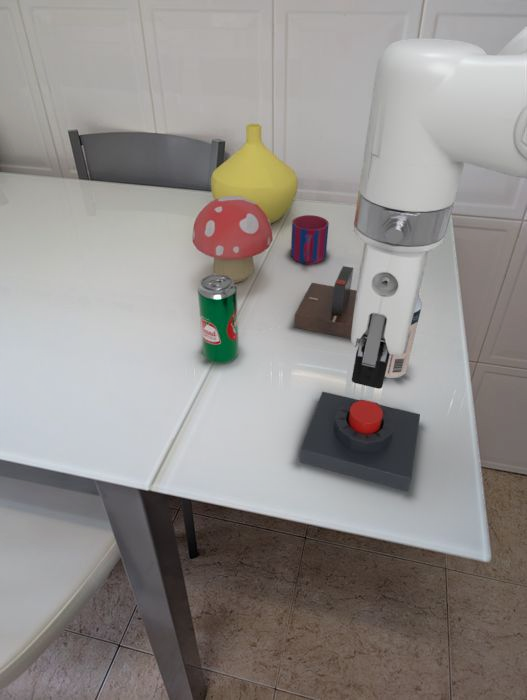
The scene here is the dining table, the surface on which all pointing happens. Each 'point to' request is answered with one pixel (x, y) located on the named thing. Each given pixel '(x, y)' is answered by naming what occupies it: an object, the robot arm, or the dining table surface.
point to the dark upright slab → (342, 290)
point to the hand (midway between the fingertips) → (367, 380)
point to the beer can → (400, 363)
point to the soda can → (218, 318)
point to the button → (365, 417)
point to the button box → (362, 443)
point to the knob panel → (325, 312)
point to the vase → (256, 177)
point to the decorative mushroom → (232, 235)
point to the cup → (309, 239)
